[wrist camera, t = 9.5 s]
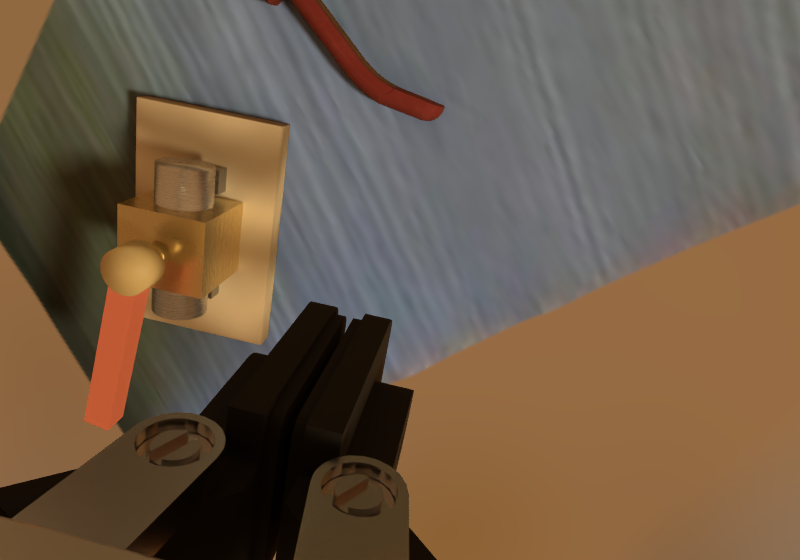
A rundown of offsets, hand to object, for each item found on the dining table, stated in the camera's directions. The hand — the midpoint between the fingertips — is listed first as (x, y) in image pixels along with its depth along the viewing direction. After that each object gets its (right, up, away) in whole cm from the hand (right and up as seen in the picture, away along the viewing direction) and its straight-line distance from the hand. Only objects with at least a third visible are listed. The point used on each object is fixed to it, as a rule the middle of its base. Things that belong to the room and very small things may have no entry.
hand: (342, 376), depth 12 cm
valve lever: (-15, -1, +25) cm, 29 cm away
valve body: (-13, +6, +30) cm, 33 cm away
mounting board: (-12, +6, +31) cm, 34 cm away
